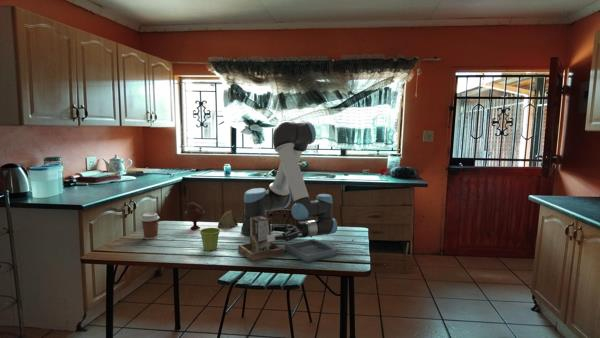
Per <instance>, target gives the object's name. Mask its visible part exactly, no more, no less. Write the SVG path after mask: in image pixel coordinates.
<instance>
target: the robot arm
mask: <svg viewBox="0 0 600 338" xmlns="http://www.w3.org/2000/svg"><path fill="white" fill-rule="evenodd" d="M316 139H317V132H316V128H315V126H314V125H313V124H312V123H311V122H310V121H307V120H306V121H305V120H284V121H281V122H280V123H278V124H277V125H276V126H275V128H274V130H273V134H272V144H273V148H274V151H275V152H276V153H277V154H278V157H279V160H280V163H279V166H278V169H277V172H276V174H275V177H274V180H273V182H271V183H270V184H269V186H268V189H266V188H264V187H258V188H255V187H254V188H251V189H248V190H246V191H245V192H244V195H243V207H244V209H243V211H244V213H243V215H244V217H243V219H244V220H243V222H242V225H241V228H240V231H241V235H242V236H245V237H250V217H256V216H264V217H266V218H267V213H268V212H272V211H279V210H283V209H286V208H287V207H288V206H289V205H290V203H291V202H292V201H293V205H292V206H291V209H290V210H291V212H290V213H291V216H292V217H293V219H295V220H297V221H298V222H296V223H295V225H293V224H291V223H289V224H288V223H287V224H285V223H283V224H281V223H279V224H278V223H277V224H276V223H271V233H273V232H279V233H275V234H271V235H267V242H270V241H271V242H277V241H285V242H291V241H292V240H295V239H298V238H299V239H304V238H309V237H310V238H313V237H318V236H328V235H333V234H335V233H336V232H337V231H338V222H337V221H338V220H336V219H335V218H334V217H333V203H334V202H333V196H332V195H331V194H327V193H319V194H317V195H316V199H314V200H311V198H310V195H309V192H308V189H307V187H306V184H305V179H304V177H303V174H302V171H301V168H300V165H299V161H300V158H301V156H302V153H304V152H305V151H307V148H308V146H309V145H311V144H313V143H314V142H315V141H316ZM315 217H316V219H311V218H315ZM307 219H310V220H307ZM300 220H302V221H300ZM303 220H305V221H303Z"/></svg>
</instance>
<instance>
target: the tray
mask: <svg viewBox="0 0 600 338" xmlns="http://www.w3.org/2000/svg"><path fill="white" fill-rule="evenodd" d="M284 251H285V252H287V253H288V254H291V255H292V256H293V257H296V258H297V259H299V260H301V261H303V262H304V263H305V264H308V263H309V264H310V263H312V262H317V261H322V260H325V259H330V258H333V257H337V256H338V249H337V248H335V247H334V246H331V245H329V244H327V243H324V242H322V241H320V240H317V239H315V238H310V239H306V240H301V241H296V242H291V243H285V244H284Z"/></svg>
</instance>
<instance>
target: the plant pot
mask: <svg viewBox="0 0 600 338" xmlns="http://www.w3.org/2000/svg"><path fill="white" fill-rule="evenodd" d="M220 232H221V229H220V228H219V227H207V228H201V229H199V234H200V235H201V241H202V248H203V250H204V251H208V252H209V251H215V250H217V249H218V242H219V235H220Z"/></svg>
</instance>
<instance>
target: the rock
mask: <svg viewBox="0 0 600 338" xmlns="http://www.w3.org/2000/svg"><path fill="white" fill-rule="evenodd" d="M218 220H219V221H218V224H217V228H234V227H238V225H239V224H238V221H237V218H236V215H235V212H234V210H232V209H229V210H227V211H225V212H224V213H223V215H222V216H221V218H220V219H218Z"/></svg>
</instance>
